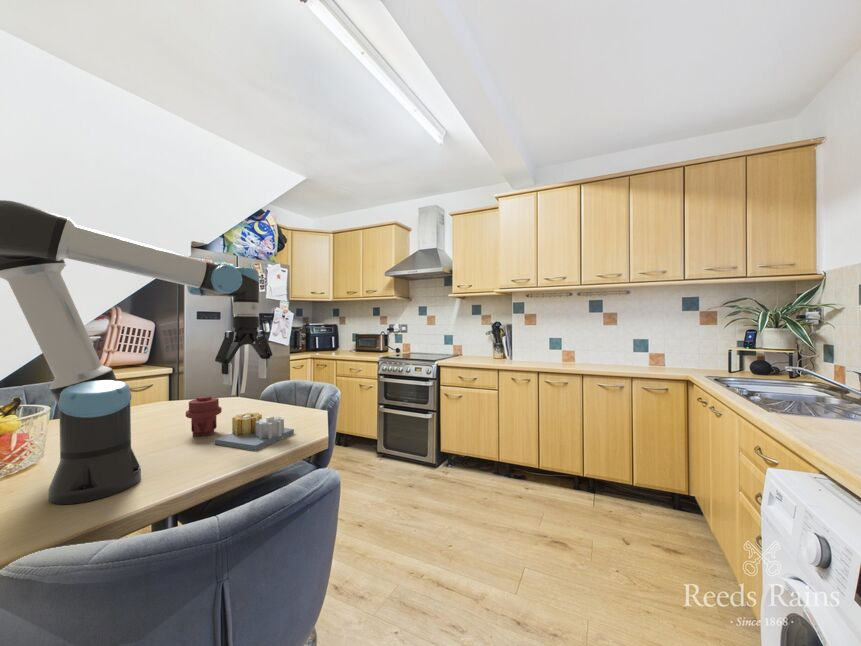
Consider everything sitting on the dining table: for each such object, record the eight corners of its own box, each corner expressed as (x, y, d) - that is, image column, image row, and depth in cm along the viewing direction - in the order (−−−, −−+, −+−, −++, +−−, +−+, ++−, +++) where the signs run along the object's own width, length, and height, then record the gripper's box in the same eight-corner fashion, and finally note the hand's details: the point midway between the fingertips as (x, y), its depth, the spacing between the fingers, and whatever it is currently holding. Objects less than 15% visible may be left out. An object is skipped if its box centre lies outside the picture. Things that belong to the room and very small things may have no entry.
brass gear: (246, 437, 109) (246, 421, 109) (226, 433, 112) (226, 418, 112) (267, 429, 117) (267, 414, 117) (248, 426, 120) (248, 411, 120)
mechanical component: (201, 428, 122) (228, 429, 121) (178, 438, 112) (207, 439, 111) (201, 393, 122) (228, 394, 121) (177, 400, 112) (206, 400, 111)
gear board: (257, 451, 101) (257, 426, 101) (214, 444, 107) (214, 421, 107) (295, 433, 116) (295, 412, 116) (256, 428, 122) (256, 408, 122)
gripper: (220, 315, 101) (220, 388, 101) (283, 316, 124) (283, 376, 125) (201, 315, 103) (201, 387, 104) (266, 316, 127) (266, 375, 127)
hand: (245, 381), depth 114 cm, fingers open, 13 cm apart
